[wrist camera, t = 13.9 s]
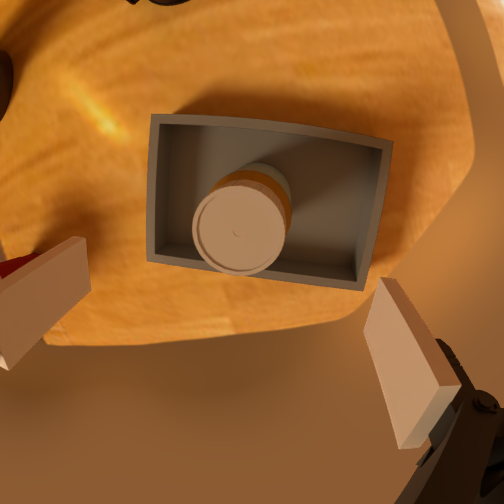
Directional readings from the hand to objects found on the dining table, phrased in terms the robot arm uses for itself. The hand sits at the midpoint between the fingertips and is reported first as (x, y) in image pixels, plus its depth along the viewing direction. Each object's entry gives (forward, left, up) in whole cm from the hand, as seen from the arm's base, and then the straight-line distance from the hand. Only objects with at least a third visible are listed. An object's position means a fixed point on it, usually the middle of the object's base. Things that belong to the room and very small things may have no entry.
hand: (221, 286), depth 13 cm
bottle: (0, 0, -23) cm, 23 cm away
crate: (0, 0, -24) cm, 24 cm away
